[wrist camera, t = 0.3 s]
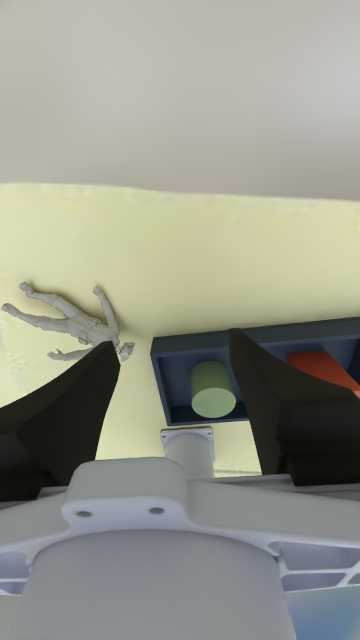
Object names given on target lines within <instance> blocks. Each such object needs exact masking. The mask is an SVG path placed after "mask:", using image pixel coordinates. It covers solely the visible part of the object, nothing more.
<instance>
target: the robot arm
mask: <svg viewBox="0 0 360 640" xmlns="http://www.w3.org/2000/svg"><path fill="white" fill-rule="evenodd" d="M229 358H230V363H231V367H232V371H233V374H234V376H235V379H236V382H237V384H238V387H239V390H240V392H241V395H242V398H243V400H244V403H245V406H246V409H247V413H248V417H249V421H250V425H251V429H252V433H253V437H254V441H255V445H256V449H257V453H258V458H259V462H260V466H261V471H262V475H257V476H240V477H222V478H215V476H214V468H213V463H214V462H215V460H214V448H213V436H212V428H210V427H205V428H192V429H178V430H165V431H161V432H160V436H161V439H162V443H163V446H164V450H165V453H166V455H165V457H139V458H123V459H108V460H95V457H96V452H97V447H98V442H99V438H100V433H101V429H102V425H103V421H104V418H105V414H106V411H107V409H108V406H109V403H110V400H111V398H112V395H113V392H114V389H115V386H116V383H117V381H118V376H119V371H120V366H121V365H120V362H119V359H118V356H117V353H116V350H115V347H114V344H113V341H112V340H111V341H102V342H101V343H100V344H98V345H97V346H96V347H95V348H93V349H92V350H91V351H90V352H89V353H88V354H86V355H85V356H84V357H83V358H82V359H80V360H79V361H78V362H77V363H75V364H74V365H73V366H71V367H70V368H69V369H68V370H66V371H65V372H64V373H62V374H61V375H59V376H58V377H56V378H55V379H53V380H52V381H50V382H49V383H47V384H45V385H44V386H42V387H40V388H39V389H37V390H35V391H33V392H32V393H30V394H28V395H26V396H24V397H22V398H20V399H18V400H16V401H14V402H12V403H10V404H8V405H6V406H4V407H2V408H0V595H15V596H21V597H20V600H19V602H18V605H17V607H16V610H15V612H14V615H13V617H12V619H11V622H10V624H9V627H8V630H7V632H6V634H5V637H4V640H297V639H296V635H295V631H294V627H293V624H292V620H291V616H290V612H289V609H288V605H287V601H286V597H285V593H291V592H300V591H309V590H319V589H328V588H338V587H346V586H357V585H360V398H359V397H358V396H357V395H356V394H355V393H354V392H353V391H352V390H351V389H350V388H347V387H344V386H340V385H337V384H334V383H331V382H328V381H325V380H323V379H320V378H317V377H315V376H312V375H310V374H308V373H305V372H303V371H301V370H299V369H297V368H295V367H293V366H291V365H289V364H287V363H285V362H283V361H282V360H280V359H278V358H277V357H275V356H274V355H272V354H271V353H269V352H268V351H266V350H265V349H263V348H262V347H261V346H259V345H258V344H257V343H256V342H255V341H253V340H252V339H251V338H250V337H249V336H248V335H246V334H245V333H244V332H243V331H242V330H241V329H240V328H233V329H229Z"/></svg>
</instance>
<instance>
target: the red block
mask: <svg viewBox="0 0 360 640" xmlns="http://www.w3.org/2000/svg"><path fill="white" fill-rule="evenodd" d="M286 363H287V364H289V365H291V366H293V367H295V368H297V369H299V370H301V371H303V372H305V373H308V374H310V375H312V376H315V377H317V378H320V379H323V380H325V381H328V382H331V383H334V384H337V385H340V386H344V387H347V388H350V389H351V390H352V391H353V392H354V393H355V394H356V395H357V396H358V397H359V398H360V386H359V385H358V384H357V383H356V382H355V381H354V379H353V378H352V377H351V376H350V375H349V374H348V373H347V372H346V371H345V370H344V369H343V368H342V367H341V366H340V365H339V364H338V363H337V362H336V361H335V360H334V359H333V358H332V357H331V355H330V354H329V353H328V352H327V351H317V352H306V353H295V354H288V356H287V362H286Z"/></svg>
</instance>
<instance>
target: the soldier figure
mask: <svg viewBox="0 0 360 640" xmlns="http://www.w3.org/2000/svg"><path fill="white" fill-rule="evenodd" d="M19 287H20V289H21V290H23V291H24V292H25V293H26V295H27V296H28V297H29V298H34V299H38V300H41V301H43V302H46V303H48V304H50V305H51V306H55V307H56V308H57V309H58V310H59V311H61V312H63V314H64V315H65V316H66V317H67V318H68V319H53V318H50V317H46V316H34V315H30V314H24V313H22V312H20V311H19V310H18V309H17V308H15V307H14V306H13V305H11V304H9V303H6V304H4V305H3V306H2V307H1V309H2V310H3V311H6V312H8V313H10V314H11V315H13V316H15V317H18V318H20V319H21V320H24V321H26V322H28V323H29V324H31V325H33V326H35V327H41V328H42V329H43V330H47V331H57V332H63V333H70V334H71V336H73V337H76V338H78V339H79V342H80V343H82V344H85V345H87V344H88V343H90V344H91V345H93V346H94V347H93V348H95V347H96V346H97V345H98V344H100V343H101V342H102V341H111V340H112V341H113V344H114V347H115V349H116V350H117V351H120V352H119V353H117V354H119V355H120V356H121V359H122V362H123V361H126V360H127V359H128V357H129V356H130V355H131V354H132V352H133V347H134V346H135V343H133V342H132V343H124V345H123V346H121V347H122V348H121V350H120V346H118V345H119V343H120V340H119V339H118V335H119V332H120V329H119V327H118V324H117V322H116V319H115V317H114V314H113V311H112V309H111V306H110V304H109V302H108V301H107V299H106V298H105V296H104V294H103V292H102V291H101V290H100V288H98V287H97V286H96V287H94V288H95V289H94V288H93V290H95V291H96V292H97V293H96V292H94V291H93V293H95V294H96V295H97V296H98V297H99V299H100V300H101V304H102V308H103V311H104V314H105V317H106V319H107V324H108V326H107V325H104V324H102V321H101V320H99V319H98V318H91V317H89V315H87V314H84V313H83V312H82V311H80V310H79V309H78V308H76V307H75V306H74V305H73V304H71V303H69V302H67V301H65V300H64V299H63V298H62V296H57V295H56V294H42V293H35V292H34V290H33V289H32V288H31V287H30V285H29V284H27V283H26V282H23V283H21V284H20V286H19ZM97 288H98V289H99V290H98V289H97ZM93 348H89V349H86V350H77V351H73V352H70V353H67V354H63V353H62V352H61V351H60V350H58V349H57V351H58V352H59V353H58V354H55V353H53V352H50V353H51V354H50V353H48V354H47V355H48V356H49V357H50V358H52V359H54V360H64V361H67V360H80V359H82V358H83V357H84V356H85V355H86V354H88V353H89V352H90V351H91V350H92V349H93ZM117 351H116V352H117ZM52 354H53V355H52Z"/></svg>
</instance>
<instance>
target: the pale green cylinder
mask: <svg viewBox="0 0 360 640" xmlns="http://www.w3.org/2000/svg"><path fill="white" fill-rule="evenodd" d="M190 383H191V402H192V408H193V409H194V411H195V412H196V413H197V414H199V415H201V416H204V417H208V418H216V417H221V416H224V415H226V414H228V413H230V412H231V411H232V410H233V408H234V407H235V404H236V398H235V395H234V391H233V387H232V384H231V380H230V377H229V373H228V370H227V368H226V367H225V365H223V364H222V363H220V362H218V361H213V360H208V361H203V362H200V363H198V364H197V365H195V366H194V367H193V369H192V370H191V373H190Z"/></svg>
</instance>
